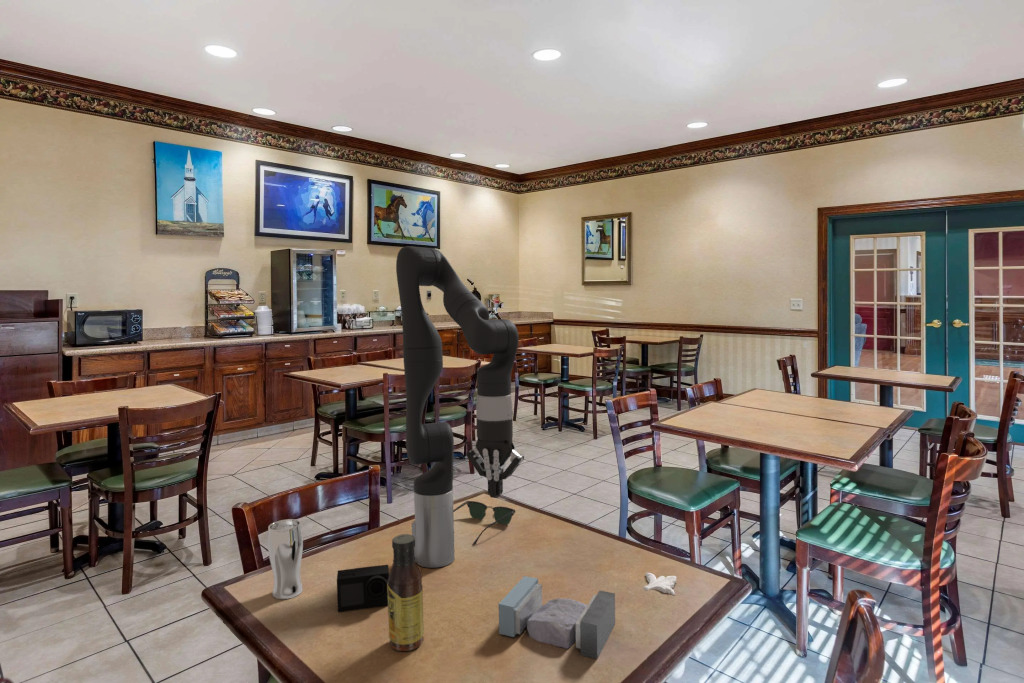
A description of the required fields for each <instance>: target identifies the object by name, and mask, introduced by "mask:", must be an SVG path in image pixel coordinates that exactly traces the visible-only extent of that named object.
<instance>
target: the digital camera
mask: <svg viewBox="0 0 1024 683" xmlns="http://www.w3.org/2000/svg"><path fill="white" fill-rule="evenodd" d="M336 575H337V576H336V592H337V593H336V594H337V595H336V597H337V599H336V600H337V612H338V613H341V612H342V613H343V612H351V611H357V610H365V609H373V608H380V607H386V606H387V607H388V593H387V580H388V577H389V575H390V570H389V564H382V565H373V566H371V565H370V566H364V567H356V568H355V567H354V568H348V569H341V570H337V574H336Z"/></svg>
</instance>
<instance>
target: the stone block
mask: <svg viewBox="0 0 1024 683" xmlns="http://www.w3.org/2000/svg"><path fill="white" fill-rule="evenodd" d="M587 605H588V604H586V603H583V602H581V601H579V600H576V599H571V598H569V597H567V598H564V597H563V598H559V597H558V598H556V599H555V598H553V599H550V600H549V599H548V601H547V602H546V603H545V604H542V607H540V608H539V609H538V611H537V612H536V613H535V614H533V616H532V617H530V618H529V620H528V621H527V626H526V630H527V634H528V636H529V637H530V638H531V639H534V640H535V641H537V642H539V643H545V644H548V645H549V644H550V645H553V646H555V647H559V648H562V649H566V650H568V649H570V648H571V647H572V645H574V644H575V643H576V622H577V620H578V619H579V617H580V616H581V614H582V613H583V611H584V609H585V608H586V606H587Z"/></svg>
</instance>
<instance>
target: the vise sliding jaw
mask: <svg viewBox="0 0 1024 683" xmlns="http://www.w3.org/2000/svg"><path fill="white" fill-rule="evenodd" d="M542 606H543V584H542V583H539V578H537V577H532V576H526V575H524V576H523V577H522V578H521V579H520V580H519V581H518V582H517V583H516V584H515V586H514V587H513V588H512V589H511V590H510V591H509V592H508V593H507V594H506V595H505V596H504V597H503V599H501V601H500V602H499V603H498V634H499V635H503V636H507V637H511V638H515V637H516V635H521V634H522V632H524V630H525V628H527V621H528V620H529V618H530V617H532V616H533V614H535V613H536V612H537V611H538V609H539V608H540V607H542Z"/></svg>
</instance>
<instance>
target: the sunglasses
mask: <svg viewBox="0 0 1024 683" xmlns="http://www.w3.org/2000/svg"><path fill="white" fill-rule="evenodd" d="M465 505H466V506H467V508H468V511H469V515H470V516H471V517H472V519H475V520H476V519H477V520H481V521H483V519H484V518H485V517H486V515H487V513H486V512H487V510H488V509H492V511H493V514H492V518H493V519H494V520H495V521H493V522H492V523H490V524H489V525H488V526H486V527H485V528H484V529H482V530H481V532H480V534H478V536H477V537H476V539H475V540H474V541H473V543H472V546H474V545H476V544H477V543H478V540H479V539H480V537H481V536H482V534H483V533H484V532H485V531H487V529H488V528H490V527H491V526H493V525H495V524H496V523H497V524H501V525H502V524H503V525H505V526H508V525H509V524H510V523H511V521H512V519H513V516H514V514H515V513H516V511H517V510H516V509H513V508H511V507H506V506H494V507H493V506H489V505H486V504H485V503H483V502H480V501H473V500H466V501H465V502H462V504H460V505H458V506H457V507H456V508H453V513H455V512H457V511H458V510H459V509H461V508H462V507H464V506H465Z"/></svg>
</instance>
